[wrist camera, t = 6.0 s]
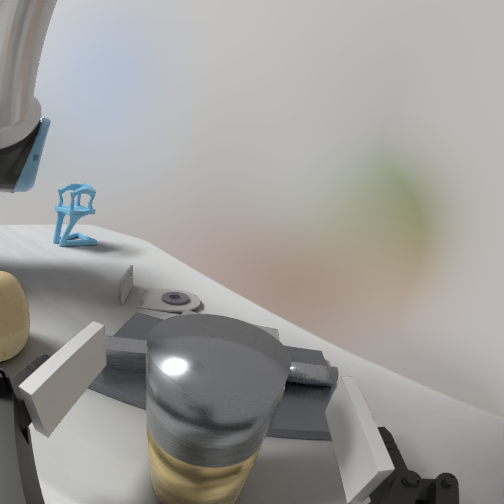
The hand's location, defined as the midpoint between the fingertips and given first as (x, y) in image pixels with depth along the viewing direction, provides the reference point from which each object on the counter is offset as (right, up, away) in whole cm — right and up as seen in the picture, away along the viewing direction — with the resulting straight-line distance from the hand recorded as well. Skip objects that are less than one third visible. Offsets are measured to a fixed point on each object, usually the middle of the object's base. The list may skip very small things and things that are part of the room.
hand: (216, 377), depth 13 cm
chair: (-34, +8, +35) cm, 50 cm away
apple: (-20, -2, +2) cm, 20 cm away
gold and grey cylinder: (-1, -6, -2) cm, 7 cm away
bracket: (-10, 0, +21) cm, 24 cm away
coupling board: (-1, -4, +9) cm, 10 cm away
